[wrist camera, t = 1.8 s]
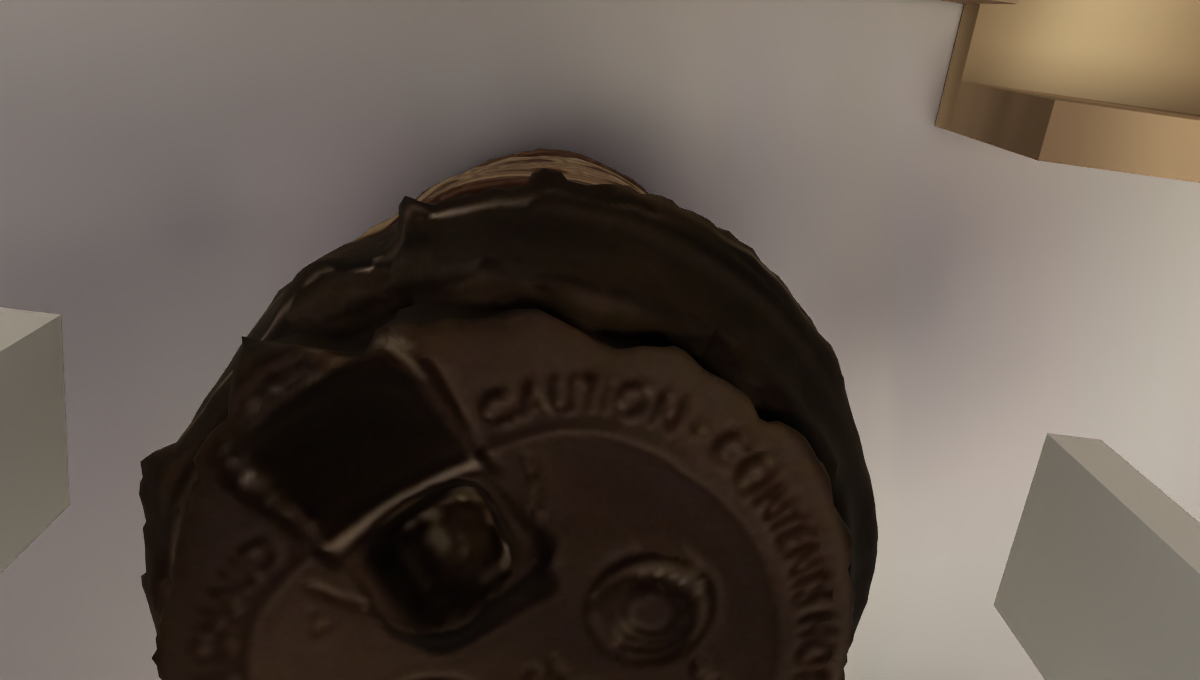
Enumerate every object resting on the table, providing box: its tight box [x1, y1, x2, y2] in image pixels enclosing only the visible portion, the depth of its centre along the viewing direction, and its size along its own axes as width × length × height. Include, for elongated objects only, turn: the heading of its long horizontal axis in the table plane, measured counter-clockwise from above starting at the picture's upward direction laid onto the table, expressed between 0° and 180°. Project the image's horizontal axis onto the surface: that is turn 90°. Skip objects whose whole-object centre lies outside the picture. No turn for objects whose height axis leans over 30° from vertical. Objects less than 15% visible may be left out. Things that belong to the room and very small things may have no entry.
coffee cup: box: [139, 149, 878, 680], centre depth 16 cm, size 9×8×13 cm
